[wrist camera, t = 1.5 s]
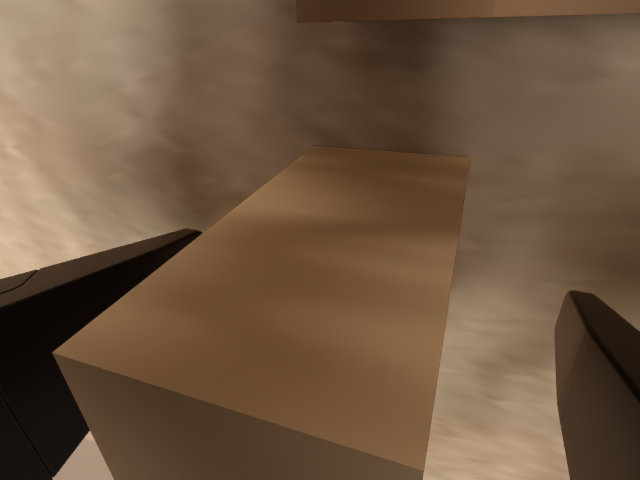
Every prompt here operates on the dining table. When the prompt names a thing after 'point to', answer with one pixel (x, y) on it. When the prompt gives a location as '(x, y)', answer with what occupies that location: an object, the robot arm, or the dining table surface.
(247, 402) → the maple peg
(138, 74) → the dining table surface
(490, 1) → the socket block
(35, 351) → the robot arm
